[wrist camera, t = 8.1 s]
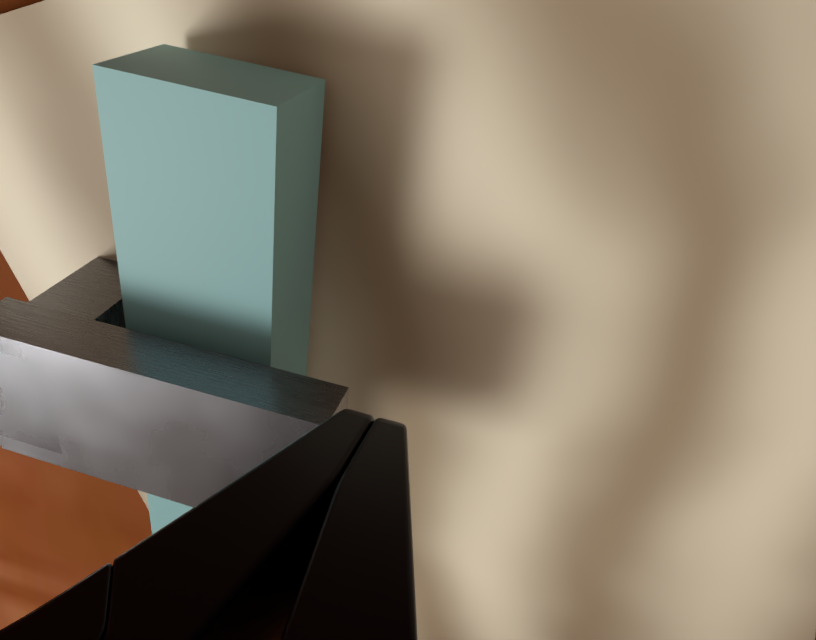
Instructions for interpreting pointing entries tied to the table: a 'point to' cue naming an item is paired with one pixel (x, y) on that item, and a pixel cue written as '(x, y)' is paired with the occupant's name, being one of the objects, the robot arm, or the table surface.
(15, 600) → the table surface
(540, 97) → the base board
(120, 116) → the link
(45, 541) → the table surface
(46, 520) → the table surface
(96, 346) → the pintle and keeper
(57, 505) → the table surface
